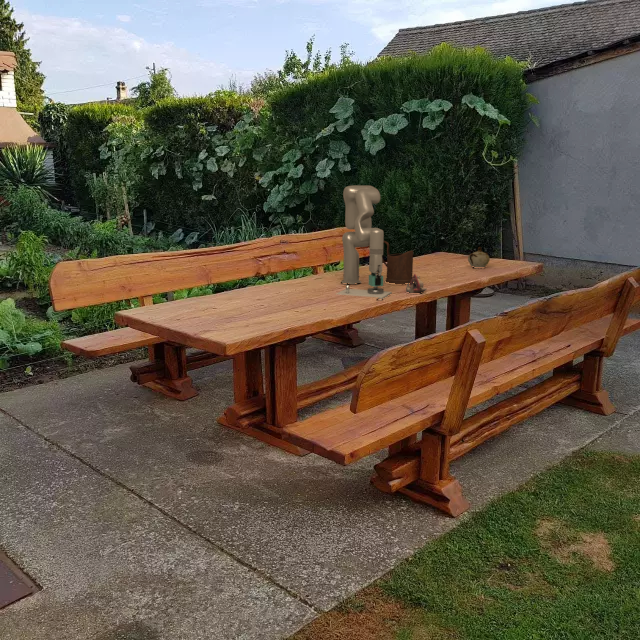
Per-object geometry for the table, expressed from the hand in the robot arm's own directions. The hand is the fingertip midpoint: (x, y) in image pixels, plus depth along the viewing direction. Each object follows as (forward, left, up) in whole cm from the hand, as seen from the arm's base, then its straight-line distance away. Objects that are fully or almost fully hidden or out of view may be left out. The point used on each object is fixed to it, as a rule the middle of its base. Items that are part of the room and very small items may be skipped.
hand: (375, 283), depth 374 cm
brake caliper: (-16, +19, -7) cm, 25 cm away
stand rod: (+7, -14, -5) cm, 17 cm away
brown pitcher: (-48, -2, -7) cm, 49 cm away
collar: (0, 0, -1) cm, 1 cm away
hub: (0, 0, -5) cm, 5 cm away
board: (+3, -6, -7) cm, 9 cm away
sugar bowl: (-129, +36, -7) cm, 134 cm away
